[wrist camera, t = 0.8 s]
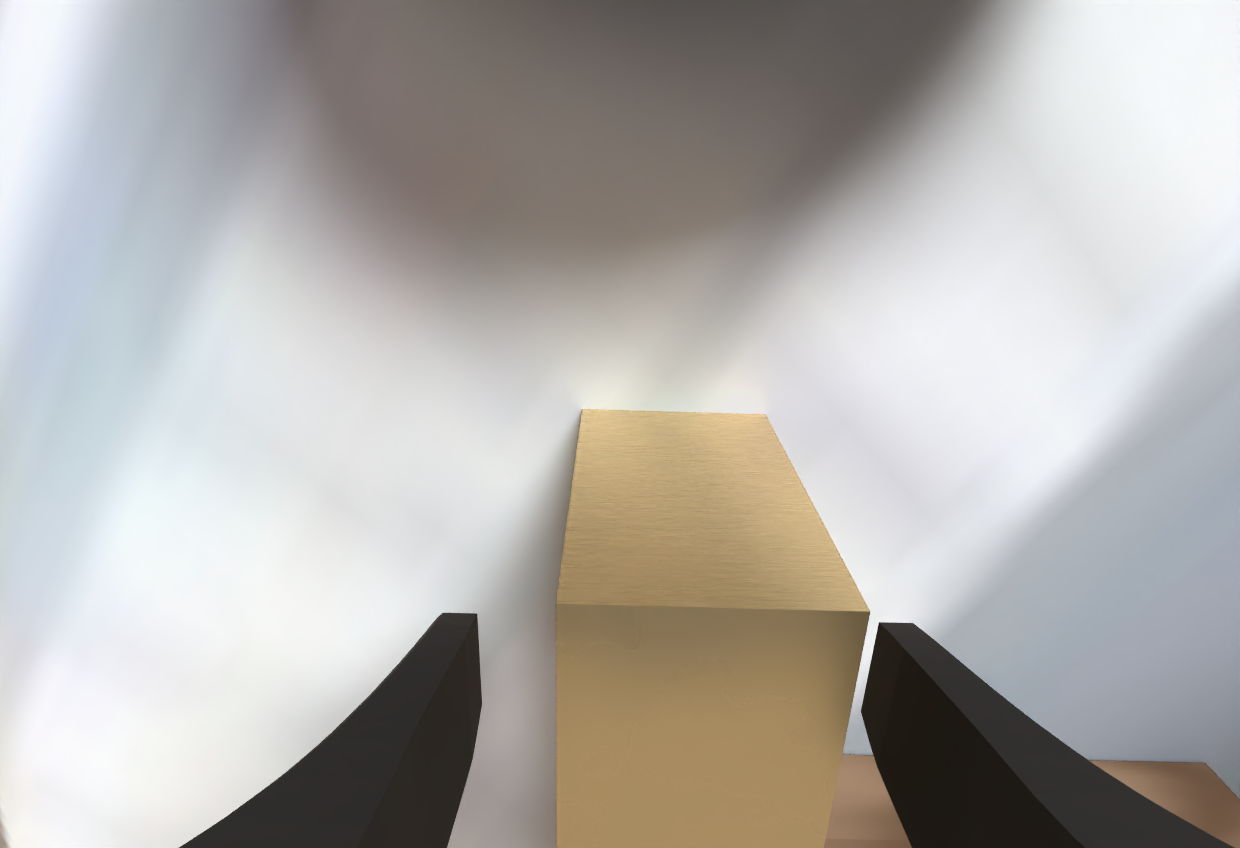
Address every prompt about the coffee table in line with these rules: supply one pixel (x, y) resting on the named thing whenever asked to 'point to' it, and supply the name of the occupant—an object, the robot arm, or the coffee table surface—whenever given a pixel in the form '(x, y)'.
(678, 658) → the key peg
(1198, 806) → the slot board
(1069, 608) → the coffee table surface
